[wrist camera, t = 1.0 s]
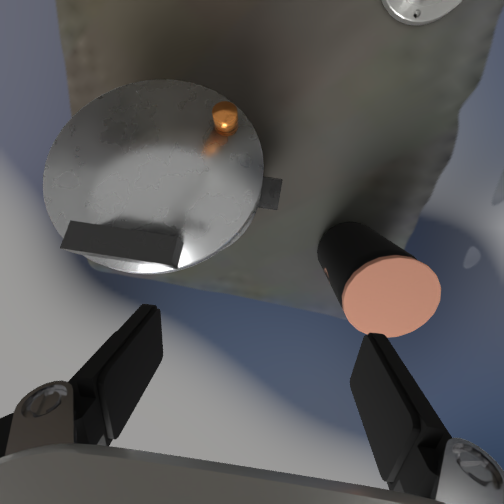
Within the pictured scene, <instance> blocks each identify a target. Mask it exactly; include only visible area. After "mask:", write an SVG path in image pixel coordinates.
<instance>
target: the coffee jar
mask: <svg viewBox="0 0 504 504" xmlns="http://www.w3.org/2000/svg"><path fill="white" fill-rule="evenodd" d="M317 253H318V260H319V262H320V264H321V266H322V268H323V270H324V272H325V274H326V276H327V278H328V280H329V282H330V284H331V286H332V288H333V290H334V293H335V295H336V297H337V299H338V301H339V303H340V305H341V307H342V309H343V310H344V312H345V314H346V317H347V319H348V321H349V322H350V323H351V324H352V325H353V326H354V327H355V328H356V329H357V330H359V331H361V332H363V333H365V334H367V335H368V334H369V333H370V332H371V333H379V334H384V335H385V336H386V337H397V336H401V335H404V334H406V333H410V332H412V331H414V330H416V329H417V328H419V327H420V326H422V325H423V324H425V323H426V322H427V321H428V319H429V318H430V317H431V316H432V315H433V314H434V313H435V311H436V308H437V306H438V304H439V302H440V295H441V286H440V283H439V280H438V277H437V275H436V274H435V273H434V272H433V271H432V270H431V269H430V267H429V266H428V265H426V264H424V263H422V262H419V261H418V260H417V259H416V258H415V257H414V256H412V255H411V254H409V253H408V252H406V251H405V250H403V249H401V248H400V247H398V246H397V245H395V244H394V243H392V242H391V241H389V240H387V239H386V238H384V237H383V236H381V235H380V234H378V233H376V232H375V231H373V230H372V229H370V228H369V227H367V226H365V225H363V224H361V223H354V222H347V223H341V224H339V225H337V226H335V227H333V228H331V229H330V230H329V231H328V232H326V233H325V234H324V236H323V237H322V239H321V241H320V242H319V246H318V250H317Z"/></svg>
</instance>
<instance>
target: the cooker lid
mask: <svg viewBox="0 0 504 504" xmlns="http://www.w3.org/2000/svg"><path fill="white" fill-rule="evenodd" d="M263 170H264V163H263V153H262V148H261V144H260V141H259V138H258V136H257V133H256V131H255V129H254V127H253V126H252V124H251V122H250V121H249V119H248V118H247V117H246V115H245V114H244V113H243V112H242V111H241V110H240V109H239V108H238V107H237V106H236V105H235V104H234V103H233V102H231V101H230V100H229V99H227V98H226V97H225V96H223V95H221V94H219V93H218V92H216V91H214V90H212V89H209V88H207V87H205V86H202V85H199V84H195V83H192V82H186V81H181V80H170V79H158V80H147V81H140V82H136V83H132V84H128V85H125V86H122V87H119V88H116V89H114V90H111V91H109V92H107V93H105V94H103V95H101V96H100V97H98V98H96V99H94V100H93V101H91V102H90V103H89V104H87V105H86V106H84V107H83V108H82V109H81V110H80V111H78V112H77V113H76V114H75V115H74V116H73V117H72V118H71V119H70V120H69V122H68V123H67V124H66V125H65V126H64V127H63V129H62V130H61V132H60V133H59V135H58V136H57V138H56V139H55V141H54V143H53V145H52V147H51V150H50V152H49V155H48V157H47V161H46V164H45V170H44V174H43V193H44V201H45V204H46V208H47V212H48V214H49V217H50V219H51V221H52V223H53V225H54V226H55V228H56V229H57V231H58V232H59V234H60V235H61V236H62V238H63V241H62V244H61V247H60V248H61V249H64V250H67V251H70V252H73V253H76V254H81V255H83V256H85V257H87V258H89V259H90V260H92V261H94V262H96V263H99V264H102V265H104V266H107V267H110V268H113V269H116V270H120V271H125V272H129V273H138V274H162V273H167V272H173V271H178V270H181V269H185V268H188V267H191V266H193V265H196V264H198V263H200V262H202V261H205V260H206V259H208V258H210V257H211V256H213V255H215V254H216V253H218V252H219V251H221V250H222V249H223V248H224V247H226V246H227V245H228V244H230V243H231V242H232V240H233V239H234V238H235V237H236V236H237V235H238V234H239V233H240V232H241V231H242V229H243V228H244V227H245V225H246V224H247V223H248V221H249V219H250V218H251V216H252V214H253V212H254V210H255V208H256V205H257V203H258V200H259V197H260V193H261V189H262V182H263Z"/></svg>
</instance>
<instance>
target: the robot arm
mask: <svg viewBox="0 0 504 504" xmlns="http://www.w3.org/2000/svg"><path fill="white" fill-rule="evenodd" d="M381 1H382V3H383V5H384V7H385V9H386V10H387V11H388V13H389V14H390V15H391V16H392V17H394V18H395V19H396V20H397V21H400V22H402V23H404V24H408V25H424V24H428V23H432V22H434V21H436V20H438V19H440V18H442V17H443V16H445V15H446V14H448V13H449V12H450V11H452V10H453V9H454V8H455V7H456V6H457V5H458V4H460V3H461V2H462V0H381ZM414 16H415V17H414ZM161 330H162V329H161V314H160V309H157V306H156V305H149V304H142V305H141V306H140V307H139V309H137V311H135V313H134V314H133V315H132V316H131V317H130V318H129V319H128V320H127V321H126V322H125V323H124V324H123V326H122V327H121V328H120V329H119V330H118V331H116V332H115V333H114V334H113V335H112V336H111V337H110V338H109V339H108V340H107V341H106V342H105V343H104V344H103V345H102V346H101V348H99V350H98V351H97V352H96V353H95V354H94V355H93V356H92V357H91V358H90V359H89V360H88V361H87V362H86V363H85V365H84V366H83V367H82V368H81V369H80V370H79V371H78V372H77V373H76V374H75V375H74V376H73V377H72V378H71V379H70V380H69V382H66V381H53V382H49V383H46V384H44V385H41V386H39V387H37V388H36V389H34V390H33V391H31V392H29V393H28V394H27V395H26V396H25V397H23V398H22V399H21V401H20V402H19V403H18V405H17V406H16V408H15V411H14V413H12V414H9V415H7V416H5V417H3V418H0V504H504V471H503V469H502V468H501V467H500V466H499V465H498V463H497V462H496V461H495V460H494V459H493V458H492V457H491V456H490V455H489V454H488V453H486V452H485V451H484V450H482V449H481V448H480V447H478V446H477V445H475V444H473V443H471V442H469V441H466V440H464V439H461V438H452V437H451V435H450V434H449V432H448V431H447V429H446V428H445V426H444V425H443V423H442V422H441V420H440V418H439V417H438V415H437V414H436V412H435V411H434V409H433V408H432V406H431V405H430V403H429V401H428V400H427V398H426V397H425V395H424V394H423V392H422V391H421V390H420V388H419V386H418V385H417V383H416V382H415V380H414V378H413V377H412V376H411V374H410V373H409V371H408V370H407V368H406V366H405V365H404V363H403V362H402V360H401V359H400V357H399V356H398V354H397V352H396V351H395V349H394V348H393V346H392V345H391V343H390V342H389V340H388V339H387V337H386V336H385V335H384V334H379V333H371V332H370V333H369V334H368V335H365V336H364V338H363V341H362V344H361V347H360V350H359V353H358V357H357V360H356V363H355V366H354V369H353V372H352V375H351V378H350V387H351V391H352V394H353V396H354V399H355V402H356V405H357V408H358V411H359V414H360V417H361V420H362V422H363V426H364V428H365V431H366V434H367V437H368V440H369V443H370V446H371V449H372V452H373V455H374V458H375V461H376V464H377V466H378V469H379V472H380V475H381V477H382V479H383V480H384V481H386V482H387V484H388V487H389V489H390V490H385V489H380V488H374V487H369V486H364V485H358V484H351V483H345V482H339V481H333V480H326V479H321V478H315V477H309V476H302V475H296V474H290V473H284V472H277V471H270V470H265V469H257V468H252V467H245V466H239V465H233V464H226V463H220V462H214V461H207V460H201V459H194V458H187V457H181V456H174V455H167V454H161V453H154V452H147V451H141V450H133V449H125V448H117V447H109V445H110V443H111V441H112V440H113V439H117V438H118V437H119V435H120V433H121V431H122V430H123V428H124V426H125V425H126V423H127V421H128V419H129V418H130V415H131V414H132V412H133V410H134V409H135V407H136V405H137V403H138V402H139V400H140V398H141V396H142V394H143V393H144V391H145V389H146V387H147V386H148V384H149V382H150V380H151V379H152V377H153V375H154V373H155V372H156V370H157V368H158V366H159V364H160V363H161V361H162V357H163V345H162V331H161Z"/></svg>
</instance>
